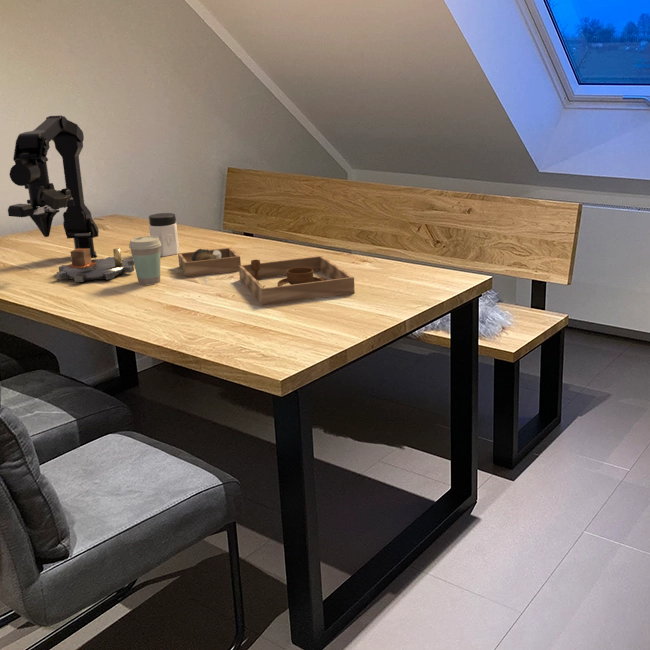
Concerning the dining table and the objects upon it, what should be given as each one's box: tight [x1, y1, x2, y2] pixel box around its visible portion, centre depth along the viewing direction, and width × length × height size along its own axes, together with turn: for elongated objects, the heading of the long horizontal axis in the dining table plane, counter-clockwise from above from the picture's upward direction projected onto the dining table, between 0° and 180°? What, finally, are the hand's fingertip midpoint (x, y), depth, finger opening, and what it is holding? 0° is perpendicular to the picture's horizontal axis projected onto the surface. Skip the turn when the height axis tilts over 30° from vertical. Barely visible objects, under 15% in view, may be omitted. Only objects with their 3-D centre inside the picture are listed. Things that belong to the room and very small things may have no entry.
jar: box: [148, 212, 180, 257], centre depth 248 cm, size 9×8×12 cm
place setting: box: [250, 259, 328, 288], centre depth 210 cm, size 18×20×6 cm
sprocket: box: [56, 247, 135, 283], centre depth 227 cm, size 22×22×6 cm
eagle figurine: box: [191, 248, 221, 261], centre depth 227 cm, size 8×7×9 cm
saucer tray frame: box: [238, 255, 356, 306], centre depth 207 cm, size 26×24×4 cm
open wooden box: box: [177, 247, 242, 278], centre depth 228 cm, size 13×16×4 cm
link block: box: [70, 248, 92, 265], centre depth 229 cm, size 4×4×4 cm
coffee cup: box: [128, 235, 161, 286], centre depth 216 cm, size 8×8×12 cm
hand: (46, 236), depth 222 cm, fingers closed
